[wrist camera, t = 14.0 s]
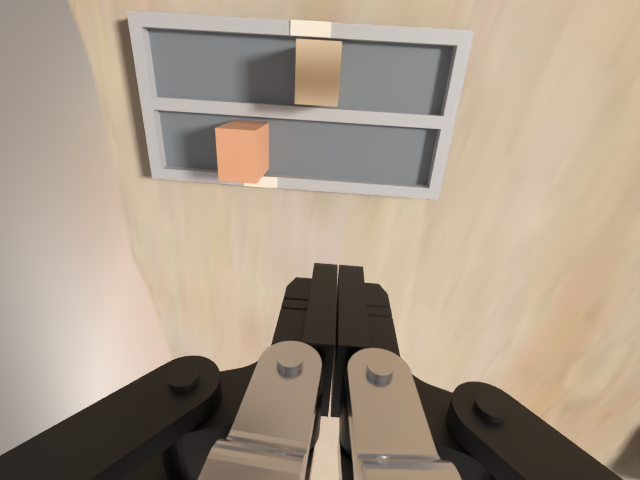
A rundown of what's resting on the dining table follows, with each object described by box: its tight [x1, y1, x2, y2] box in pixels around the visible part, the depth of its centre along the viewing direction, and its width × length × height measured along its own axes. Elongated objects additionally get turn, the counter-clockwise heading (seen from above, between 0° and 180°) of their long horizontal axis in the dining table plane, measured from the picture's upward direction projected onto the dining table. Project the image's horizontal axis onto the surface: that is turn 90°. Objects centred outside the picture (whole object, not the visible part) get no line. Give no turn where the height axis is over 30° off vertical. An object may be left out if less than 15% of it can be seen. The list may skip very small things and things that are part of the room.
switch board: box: [126, 10, 474, 200], centre depth 30 cm, size 13×26×2 cm, turn 87°
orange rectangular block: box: [215, 120, 269, 184], centre depth 29 cm, size 4×3×5 cm
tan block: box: [295, 39, 342, 107], centre depth 26 cm, size 4×3×5 cm
